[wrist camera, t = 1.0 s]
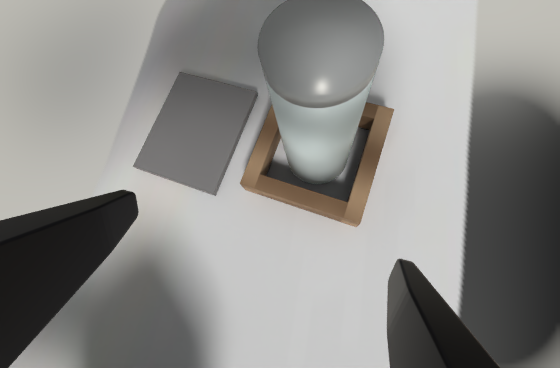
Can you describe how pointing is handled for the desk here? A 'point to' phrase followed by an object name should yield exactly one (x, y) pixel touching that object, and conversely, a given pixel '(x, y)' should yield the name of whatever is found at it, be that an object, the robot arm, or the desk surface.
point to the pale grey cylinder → (319, 79)
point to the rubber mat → (196, 132)
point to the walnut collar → (309, 200)
